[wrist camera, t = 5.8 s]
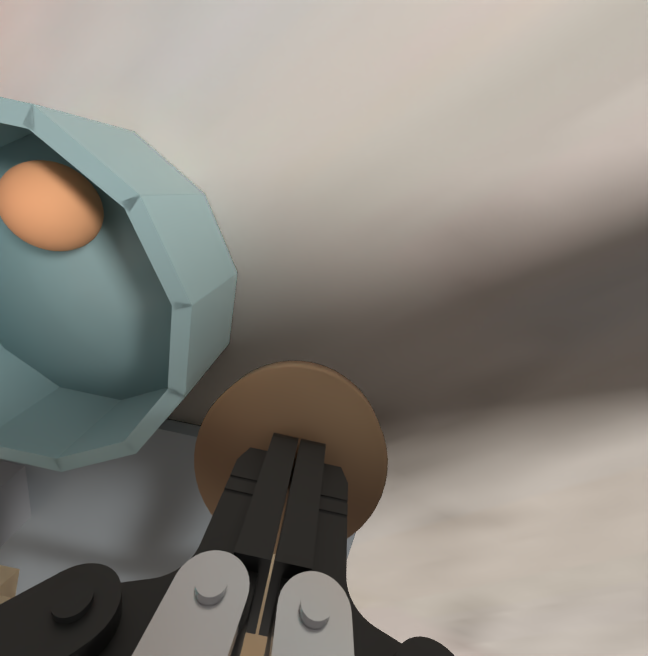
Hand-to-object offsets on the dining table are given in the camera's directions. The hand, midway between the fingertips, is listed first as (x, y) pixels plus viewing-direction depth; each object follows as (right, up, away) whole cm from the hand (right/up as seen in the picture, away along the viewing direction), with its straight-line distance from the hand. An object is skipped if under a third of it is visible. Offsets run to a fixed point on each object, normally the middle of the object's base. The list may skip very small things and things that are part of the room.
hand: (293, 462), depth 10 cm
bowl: (-9, +6, +6) cm, 12 cm away
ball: (-9, +8, +2) cm, 12 cm away
